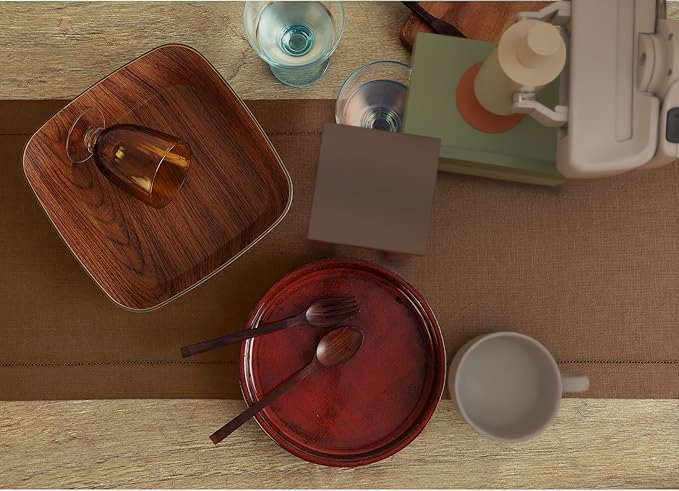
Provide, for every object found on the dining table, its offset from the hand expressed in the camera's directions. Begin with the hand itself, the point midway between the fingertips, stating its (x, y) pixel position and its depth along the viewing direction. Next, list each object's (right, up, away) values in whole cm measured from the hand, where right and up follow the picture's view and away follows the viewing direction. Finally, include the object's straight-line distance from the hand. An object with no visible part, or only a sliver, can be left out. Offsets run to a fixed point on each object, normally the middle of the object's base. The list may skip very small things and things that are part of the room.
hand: (513, 62), depth 55 cm
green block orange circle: (0, -2, +14) cm, 14 cm away
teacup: (+2, -31, +13) cm, 34 cm away
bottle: (+1, 0, +7) cm, 7 cm away
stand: (-13, -13, +13) cm, 23 cm away
